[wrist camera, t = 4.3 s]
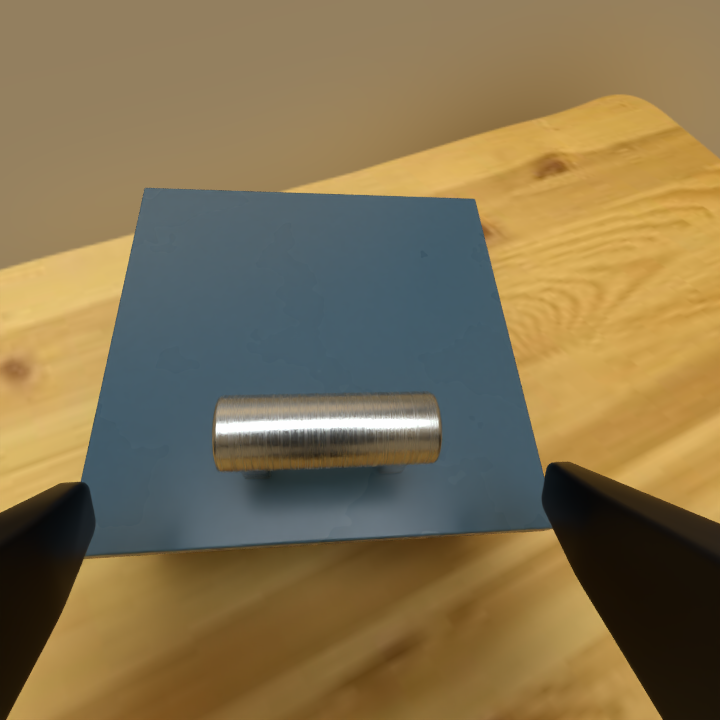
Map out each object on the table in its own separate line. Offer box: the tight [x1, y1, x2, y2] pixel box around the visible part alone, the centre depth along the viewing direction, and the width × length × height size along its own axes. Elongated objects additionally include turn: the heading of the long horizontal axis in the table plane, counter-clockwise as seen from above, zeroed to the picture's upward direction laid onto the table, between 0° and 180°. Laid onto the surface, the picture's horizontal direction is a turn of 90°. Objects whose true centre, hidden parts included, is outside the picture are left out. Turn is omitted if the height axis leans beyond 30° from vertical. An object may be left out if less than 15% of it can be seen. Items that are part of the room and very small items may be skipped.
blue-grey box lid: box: [81, 188, 553, 559], centre depth 13 cm, size 12×13×5 cm
